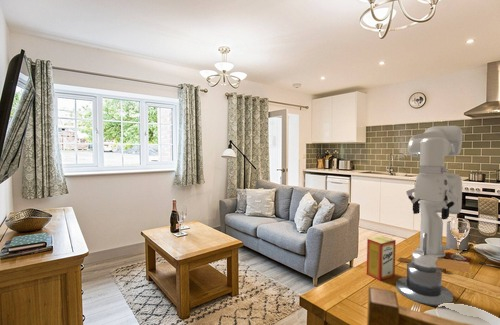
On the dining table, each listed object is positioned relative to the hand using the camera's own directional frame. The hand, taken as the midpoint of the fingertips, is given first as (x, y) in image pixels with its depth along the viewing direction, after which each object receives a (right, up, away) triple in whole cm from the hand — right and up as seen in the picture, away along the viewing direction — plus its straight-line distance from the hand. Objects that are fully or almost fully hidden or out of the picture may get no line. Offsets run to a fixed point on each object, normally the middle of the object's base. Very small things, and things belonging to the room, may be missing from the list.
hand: (429, 216), depth 99 cm
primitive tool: (+12, -29, +25) cm, 40 cm away
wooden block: (+3, -20, -1) cm, 20 cm away
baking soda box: (-11, -29, +15) cm, 34 cm away
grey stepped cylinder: (-2, -29, +1) cm, 29 cm away
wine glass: (+48, -28, +47) cm, 73 cm away
